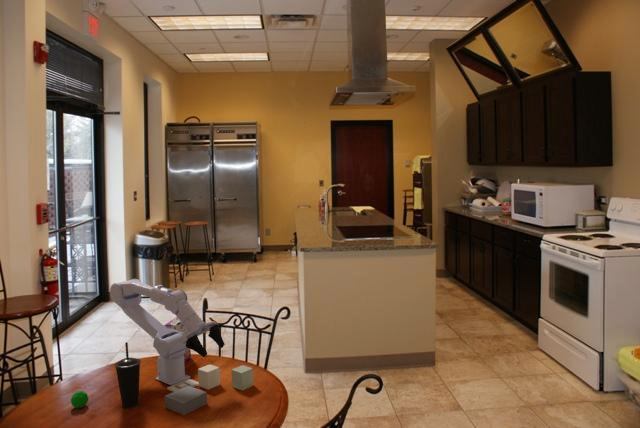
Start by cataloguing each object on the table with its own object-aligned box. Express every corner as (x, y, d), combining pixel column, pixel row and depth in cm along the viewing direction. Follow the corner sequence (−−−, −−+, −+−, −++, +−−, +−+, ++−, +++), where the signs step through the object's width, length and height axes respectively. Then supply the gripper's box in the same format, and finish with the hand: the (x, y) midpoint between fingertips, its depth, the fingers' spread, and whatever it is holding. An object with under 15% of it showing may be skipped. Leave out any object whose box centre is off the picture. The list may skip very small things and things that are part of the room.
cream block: (198, 386, 175) (197, 368, 174) (210, 381, 178) (209, 364, 178) (208, 389, 171) (207, 372, 171) (220, 384, 175) (219, 367, 175)
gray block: (165, 408, 160) (164, 395, 159) (188, 397, 167) (188, 385, 166) (183, 416, 154) (183, 403, 154) (207, 404, 161) (206, 392, 161)
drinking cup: (118, 412, 157) (114, 348, 155) (116, 402, 164) (111, 341, 162) (145, 406, 160) (141, 344, 158) (141, 397, 167) (137, 337, 165)
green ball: (71, 405, 163) (70, 390, 162) (88, 401, 165) (87, 387, 164) (71, 411, 158) (70, 396, 158) (88, 408, 160) (87, 393, 160)
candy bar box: (179, 356, 202) (177, 315, 201) (191, 357, 201) (189, 316, 200) (165, 367, 192) (163, 324, 190) (178, 368, 191) (175, 325, 189)
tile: (167, 389, 172) (167, 387, 172) (189, 380, 179) (189, 378, 179) (178, 394, 169) (178, 391, 169) (200, 384, 176) (200, 382, 176)
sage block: (232, 387, 173) (231, 369, 172) (243, 382, 177) (242, 365, 176) (242, 390, 170) (241, 373, 169) (253, 385, 174) (252, 368, 173)
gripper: (177, 320, 166) (201, 352, 162) (211, 305, 177) (234, 335, 173) (170, 333, 170) (194, 365, 165) (203, 317, 181) (226, 347, 177)
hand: (214, 350), depth 169 cm, fingers open, 7 cm apart
